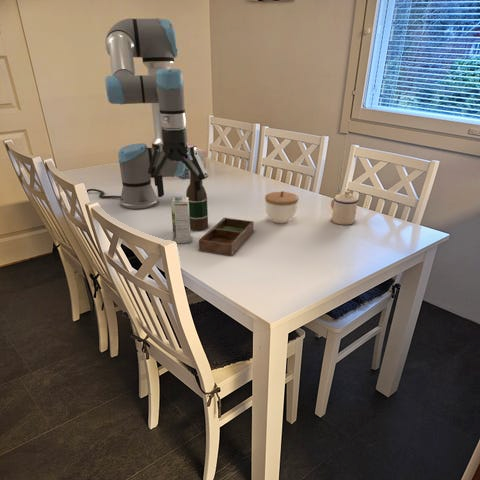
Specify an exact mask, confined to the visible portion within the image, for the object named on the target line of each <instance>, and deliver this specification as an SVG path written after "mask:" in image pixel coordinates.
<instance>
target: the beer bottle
mask: <svg viewBox="0 0 480 480" xmlns="http://www.w3.org/2000/svg"><path fill="white" fill-rule="evenodd" d="M191 161H192V163H193V164H194V165H195V163H194V161H193V160H191ZM195 167H196V165H195ZM196 168H197V167H196ZM195 180H196V178H195V177H194V176H193V175H192V173H191V172H190V178H189V185H188V186H187V188H186V192H185V197H188V198H189V214H190V231H191V230H192V231H195V232H196V231H197V232H199V231H204V230H206V229H208V228H209V212H208V211H209V210H208V194H207V191H206V189H205V187H204V186H203V189H202V190H201V199H200V200H199V201H198V202H197V201H195V187H194V181H195Z"/></svg>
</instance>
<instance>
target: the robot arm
mask: <svg viewBox="0 0 480 480" xmlns="http://www.w3.org/2000/svg"><path fill="white" fill-rule="evenodd" d="M177 43H178V42H177V38H176V32H175V29H174V26H173V23H172V22H171V21H170V19H166V18H158V17H157V18H124V19H122V20H119V21H118V22H116V23H114V25H112V27H111V28H110V29H109V30H108V32H107V34H106V37H105V49H106V52H107V54H108V56H109V61H110V72H111V75H107V76H105V77H104V83H105V90H106V97H107V101H108V103H110V104H111V105H121V106H122V105H133V104H134V105H135V104H150V105H151V112H152V113H151V114H152V122H153V123H152V124H153V131H154V138H153V139H154V140H153V139H152V141H151V147H148V146H147V144H146V143H132V144H128V145H125V146H123V147H120V148H119V150H118V152H117V157H118V160H117V161H118V162H117V163H118V164H119V170H120V178H121V182H122V183H121V184H122V189H121V194H120V195H105V192H104V191H103V190H101V189H97V188H88V189H86V190H87V193H89V192H96V193H97V192H98V193H99V195H98V197H99V198H101V199H110V198H112V199H120V205H121V206H122V208H125V209H129V210H142V209H143V210H145V209H148V208H152V207H154V206H156V205H157V204H158V198H161V197H164V195H165V190H164V181H163V178H175V177H179V176H181V175H183V173H184V170H185V165H186V167H187V168H188V169H189V171H190V172H191V173H192V175H193V176H194V177H195V178H196V180H195V181H194V187H195V201H197V202H198V201H199V200H200V199H201V190H202V189H203V187H204V184H203V180H205V179H207V178H208V177H209V175H208V171H207V169H206V170H205V168H204V166H203V164H202V161H201V159H200V157H199V155H198V151H197V147H198V146H197V147H196V145H194V146H193V147H188V146H187V142H188V134H187V129H186V127H187V120H186V108H185V107H186V106H185V90H184V85H185V82H184V77H183V71H182V70H181V69H179V68H173V66H174V65H175V58H178V55H179V51H178V44H177ZM134 58H141V59H142V64H143V66H145V68H146V69H147V74H146V75H145V74H143V75H141V74H139V75H137V72H136V67H135V60H134ZM187 152H189V154H191V157H192V159H193V161H194V163H195V165H196V167H197V168H196V167H195V165H194V164H193V163H192V161H191V160H190V157H189V156H188V155H187ZM151 179H153V180H154V186H155V187H156V191H157V195H156V192H155V190H154V188H153V186H152V181H151Z"/></svg>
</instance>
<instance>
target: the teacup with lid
mask: <svg viewBox="0 0 480 480" xmlns="http://www.w3.org/2000/svg"><path fill="white" fill-rule="evenodd" d="M358 203H359V197H358V196H356V195H355V194H352V193H351V191H350V190H347V189H346V190H344V192H342V193H340V194H336V195H334V197H333V198H332V199H331V201H330V207H331V210H332V213H331V214H332V216H331V221H332V222H333V223H335V224H336V225H337V224H338V225H341V226H345V225H353V224H354V223H355V221H356V214H357V207H358Z"/></svg>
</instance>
